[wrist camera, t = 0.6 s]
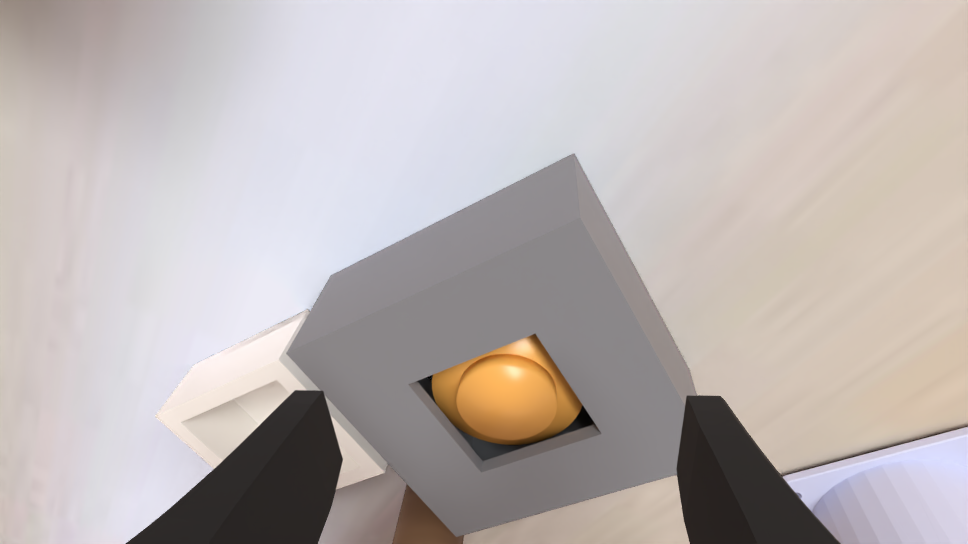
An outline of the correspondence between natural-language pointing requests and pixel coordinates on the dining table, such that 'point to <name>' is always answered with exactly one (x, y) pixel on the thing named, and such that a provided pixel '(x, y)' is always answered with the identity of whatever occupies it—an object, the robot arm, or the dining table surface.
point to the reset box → (491, 325)
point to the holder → (254, 401)
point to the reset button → (507, 395)
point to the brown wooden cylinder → (421, 524)
